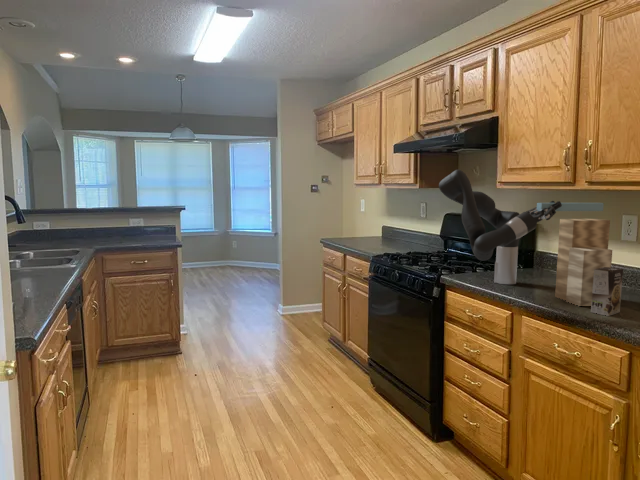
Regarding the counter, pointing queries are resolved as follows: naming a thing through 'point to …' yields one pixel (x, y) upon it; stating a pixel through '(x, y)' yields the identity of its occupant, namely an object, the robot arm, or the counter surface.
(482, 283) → the counter surface
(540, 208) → the bar
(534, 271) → the counter surface
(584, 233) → the wooden tall block
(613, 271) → the coffee box
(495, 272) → the robot arm
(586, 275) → the beige tall block
